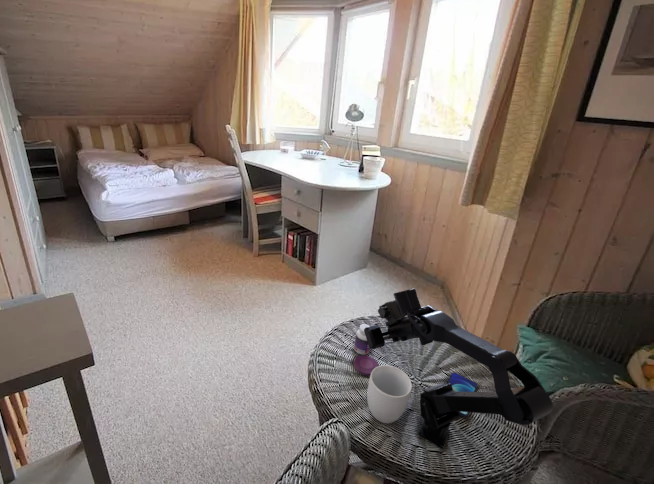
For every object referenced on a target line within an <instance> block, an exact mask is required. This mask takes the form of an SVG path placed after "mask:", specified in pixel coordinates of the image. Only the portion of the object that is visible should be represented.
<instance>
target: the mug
mask: <svg viewBox="0 0 654 484" xmlns="http://www.w3.org/2000/svg"><path fill="white" fill-rule="evenodd" d="M366 391H367V393H366V399H367V405H368V409H369V412H370V413H371V415H372V416H373V418H374V419H376V420H377V421H378V422H379V423H383V424H392V423H394V422H396V421H397V420H398V419H400V418H401V417H402V415H403V414H404V412H406V411H405V410H406V409H407V406H408V404H409V401H410V397H411V393H412V391H413V384H412V381H411V378H410V376H409V375H408V374H407V373H406V372H405V371H403V370H402V369H401V368H399V367H396V366H394V365H388V364H382V365H379V366H378V367H376V368H374V369H373V371H372V372H371V375H370V376H369V379H368V383H367V390H366Z"/></svg>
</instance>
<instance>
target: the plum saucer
mask: <svg viewBox="0 0 654 484" xmlns="http://www.w3.org/2000/svg"><path fill="white" fill-rule="evenodd" d="M378 366H380V365H379V363H378V361H377V360H376V358H374V357H372V356H369V355H367V354H366V355H361V354H359V355H357V356H356V357H355V358H354V360H353V367H354V369H355V371H356V372H357V373H359V374H361V375H364V376H369V377H370V375H371V372H372V371H373V369H374V368H376V367H378Z"/></svg>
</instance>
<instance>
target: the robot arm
mask: <svg viewBox="0 0 654 484" xmlns="http://www.w3.org/2000/svg"><path fill="white" fill-rule="evenodd" d="M393 298H394V299H393V300H390V301H386V302H384V303H383V304H381V305H379V308H378V309H377V313H378V315H379V317H380V318H381V319H385V320H386V321H385V322H384V324H385V326H386V327H387V331H382V329H381V326H380V325H378V324H374V325H369V326H370V327H366V328H365V329H364V332H365V336H366V339H367V342H368V345H369V348H370V350H376V349H379V348H383V347H385V346H386V341H387V340H392V343H397V342H400V341H401V342H405V341H408V340H413V339H418V340H419V342H420V345H421V346H426V345H428V344H431V343H433V342H439V343H444V344H447V345H449V346H451V347H453V348H454V349H457V350H458V351H460V352H461V353H463V354H465V355H466V356H468V357H470V358H472V359H473V360H475V361H477V362H479V363H480V364H482V365H484V366H485V367H486V368H488V370H489V371H490V374H491V375H492V379H493V384H494V385H493V386H494V390H495V391H475V392H457V391H455V390H454V389H453V388H452V385H451V383H449V384H448V383H443V382H441V383H438V384H435V385H433V386H430V387H427V388H424V389H423V390H422V391H423V392H421V393H420V394H419V396H420V399H419V404H420V405H419V409H420V416H421V418H422V419H423V422H422V425H421V427H420V429H419V431H418V435H419V436H420V437H422V438H424V439H425V440H427V441H428V442H429V443H432V445H433V444H434V445H435V446H437V447H438V448H440V449H441V450H442V449H444V447H445V445H446V442H447V441H448V437H449V434H450V432H451V431H450V430H449V429H450V427H451V423H453V422H455V421H458V420H460V419H461V418H462V415H461V414H460V412H469V413H475V414H487V415H499V416H501V417H502V418H503V419H505V420H506V421H507V422H510V423H514V424H518V425H521V426H529V425H531V424H533V423H535V422H537V421H539V420H541V419H543V418H545V417H546V416H549V415H551V414H552V413H553V410H554V404H553V401H552V399H551V398H550V395H549V394H548V393H547V391H546V390H545V388H544V386H543V385H542V383H541V382H540V380H539V379H538V377H537V376H536V375H534V374H533V373H532V372H531V371H530V370H528V368H526V366H524V365H523V364H522V363H521V362H520V360H519V358H518V357H517V355H516V354H515V353H514V352H513V351H511V350H508V349H503V348H501V347H499V346H498V345H495V344H494V343H491V342H489V341H488V340H485V339H484V338H482V337H480V336H478V335H476V334H474V333H472V332H470V331H468V330H466V329H464V328H462V327H460V326H459V325H457V323H456V322H455V320H454V318H453V317H451V316H449V315H448V314H447V313H445V312H443V311H441V310H438V309H436V308H434V307H433V306H431V305H426V306H422V305H421V302H420V300H419V297H418V293H417V290H416V288H410V289H406V290H402V291H398V292H394V293H393ZM509 373H511V374H512V375H513V377H515V378H516V379H517V380H518V381H520V382H521V384H522V386H519V387H515V388H512V387H511V382H510V381H511V380H510V375H509ZM459 411H460V412H459Z"/></svg>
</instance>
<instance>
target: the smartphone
mask: <svg viewBox="0 0 654 484" xmlns="http://www.w3.org/2000/svg"><path fill="white" fill-rule="evenodd" d="M449 383H451V385H452V388H453V389H454V390H455V391H457V392H476V390H477V387H478V383H477V382H476V381H474V380H471V379H470V378H467V377H465V376H463V375H461V374H458V373H456V372H452V373H450V377H449V379H448V382H447V384H449ZM459 412H460V411H459ZM469 413H470V412H460V414H461V417H465V418H466V417H468V416H469Z"/></svg>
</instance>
